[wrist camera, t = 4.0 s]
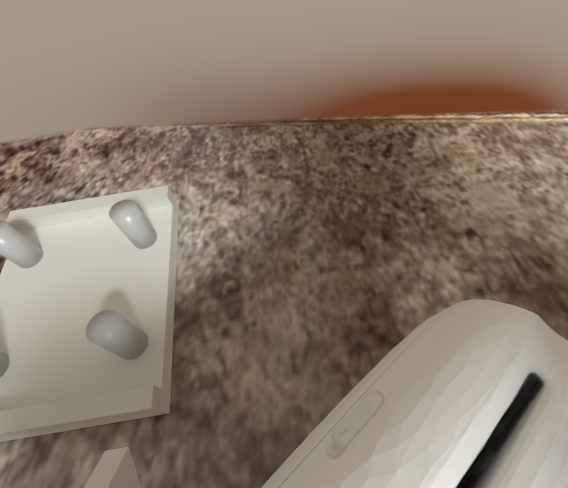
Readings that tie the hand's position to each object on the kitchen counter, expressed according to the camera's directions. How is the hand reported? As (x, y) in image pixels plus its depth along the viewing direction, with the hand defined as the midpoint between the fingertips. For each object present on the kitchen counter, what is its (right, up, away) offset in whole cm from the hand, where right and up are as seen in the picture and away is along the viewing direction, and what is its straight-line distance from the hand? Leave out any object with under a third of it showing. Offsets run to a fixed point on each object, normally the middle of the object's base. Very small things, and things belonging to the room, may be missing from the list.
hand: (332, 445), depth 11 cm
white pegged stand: (-14, +3, +10) cm, 17 cm away
